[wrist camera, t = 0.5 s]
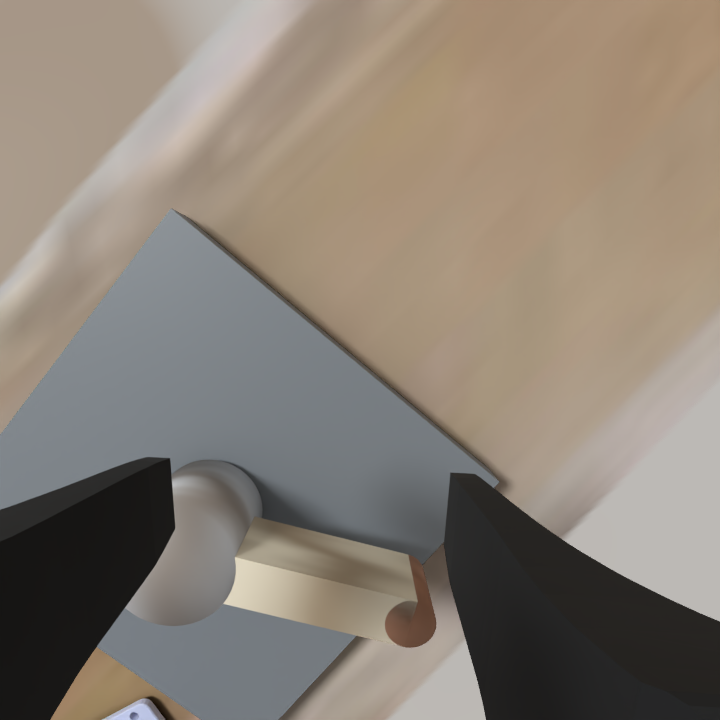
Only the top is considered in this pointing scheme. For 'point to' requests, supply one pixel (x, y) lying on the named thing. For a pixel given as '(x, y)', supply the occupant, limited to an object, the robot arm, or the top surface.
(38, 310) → the top surface
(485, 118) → the top surface
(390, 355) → the top surface
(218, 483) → the grey beige handled piece
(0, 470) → the latch plate
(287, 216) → the top surface
